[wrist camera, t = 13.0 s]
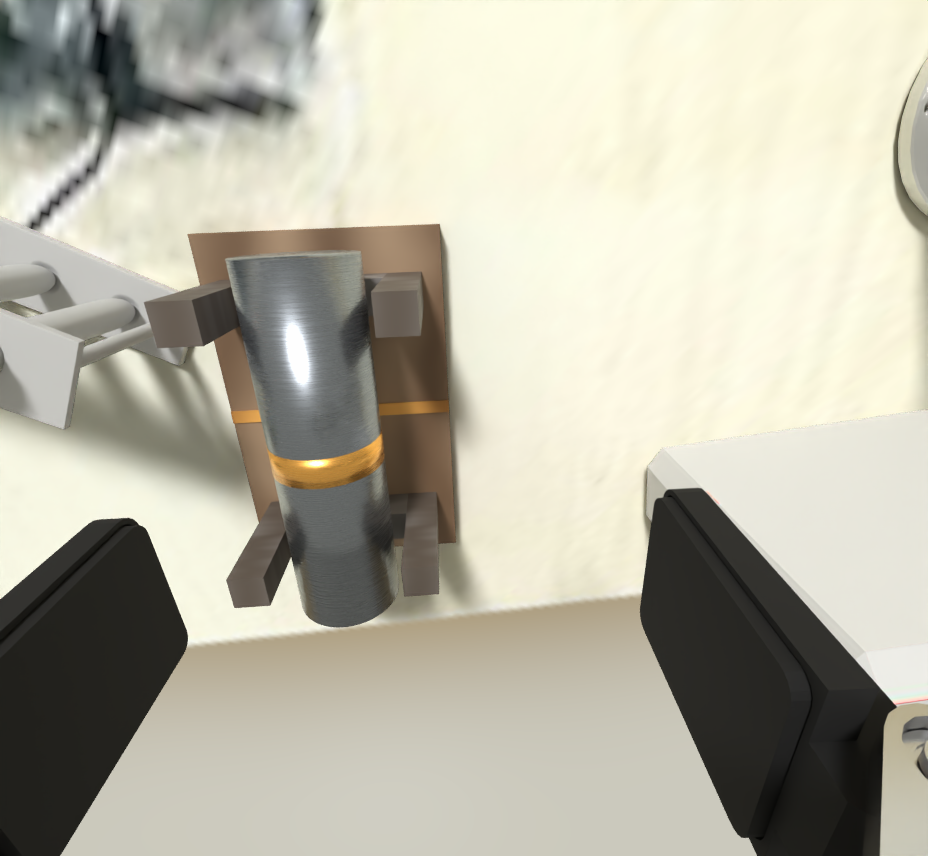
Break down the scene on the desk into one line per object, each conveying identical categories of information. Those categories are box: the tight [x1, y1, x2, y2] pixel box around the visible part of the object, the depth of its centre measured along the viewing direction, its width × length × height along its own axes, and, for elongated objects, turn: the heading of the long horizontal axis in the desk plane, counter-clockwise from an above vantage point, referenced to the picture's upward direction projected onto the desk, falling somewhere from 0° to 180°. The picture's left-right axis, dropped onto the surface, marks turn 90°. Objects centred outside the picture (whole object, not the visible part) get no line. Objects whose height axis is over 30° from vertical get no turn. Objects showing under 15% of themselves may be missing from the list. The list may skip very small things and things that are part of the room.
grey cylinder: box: [225, 250, 399, 627], centre depth 26 cm, size 6×20×6 cm, turn 2°
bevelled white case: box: [646, 409, 928, 707], centre depth 28 cm, size 21×8×20 cm, turn 98°
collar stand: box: [144, 224, 456, 608], centre depth 28 cm, size 14×22×10 cm, turn 2°
